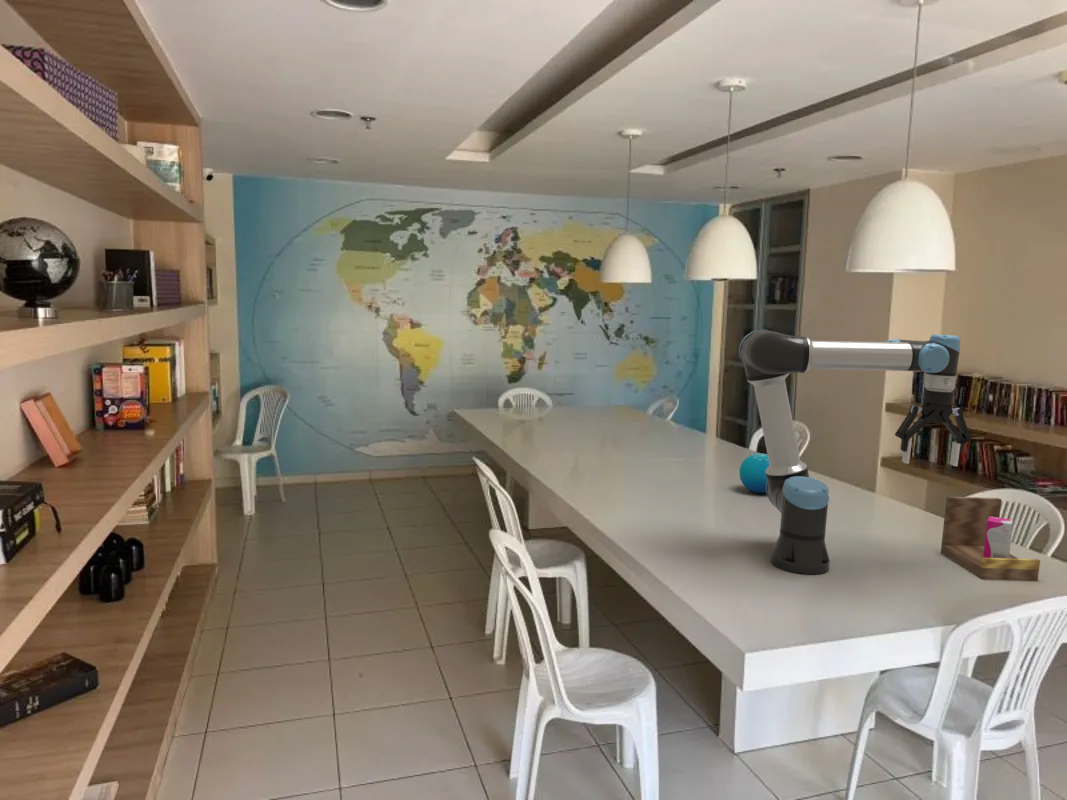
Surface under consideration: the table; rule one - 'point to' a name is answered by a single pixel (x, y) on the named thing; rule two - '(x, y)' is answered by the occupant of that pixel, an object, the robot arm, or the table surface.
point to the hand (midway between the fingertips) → (929, 464)
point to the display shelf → (979, 540)
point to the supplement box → (997, 538)
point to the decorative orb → (755, 472)
